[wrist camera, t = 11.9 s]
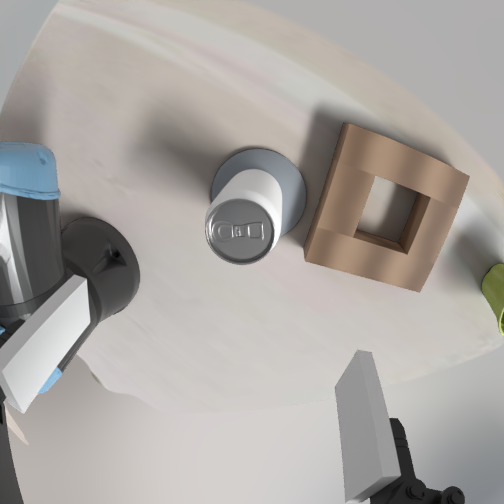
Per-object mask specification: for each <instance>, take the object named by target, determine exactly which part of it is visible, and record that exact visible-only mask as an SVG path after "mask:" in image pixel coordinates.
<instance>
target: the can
mask: <svg viewBox="0 0 504 504" xmlns="http://www.w3.org/2000/svg"><path fill="white" fill-rule="evenodd" d="M281 222H282V192H281V188H280V186H279V184H278V182H277V181H276V179H275V178H274V177H273V176H272V175H270V174H269V173H267V172H265V171H262V170H258V169H248V170H244V171H242V172H240V173H238V174H237V175H235V176H234V177H233V178H232V179H231V180H230V181H229V183H228V184H227V185H226V186H225V187H224V188H223V190H222V191H221V192H220V193H219V194H218V196H217V197H216V198H215V199H214V201H213V202H212V204H211V205H210V207H209V209H208V211H207V214H206V219H205V233H206V239H207V242H208V244H209V246H210V248H211V249H212V250H213V252H214V253H215V254H216V255H217V256H219V257H220V258H221V259H223V260H225V261H227V262H229V263H232V264H237V265H247V264H252V263H255V262H257V261H259V260H261V259H262V258H264V257H265V256H266V255H267V254H268V253H269V252H270V251H271V250H272V249H273V247H274V246H275V245H276V243H277V241H278V239H279V236H280V232H281Z"/></svg>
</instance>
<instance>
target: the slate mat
mask: <svg viewBox="0 0 504 504" xmlns="http://www.w3.org/2000/svg"><path fill="white" fill-rule="evenodd" d="M248 169H258V170H262V171H265V172H267V173H269V174H270V175H272V176H273V177H274V178H275V179H276V181H277V182H278V184H279V186H280V188H281V192H282V222H281V232H280V236H282V235H284V234H286V233H287V232H288V231H290V230H291V229H292V228H293V227H294V226H295V225H296V224H297V222H298V221H299V220H300V218H301V216H302V214H303V211H304V208H305V204H306V189H305V184H304V181H303V178H302V176H301V174H300V172H299V171H298V169H297V168H296V167H295V165H294V164H293V163H292V162H291V161H290V160H288V159H287V158H286V157H284V156H283V155H281V154H279V153H277V152H274V151H271V150H266V149H251V150H246V151H243V152H240V153H238V154H236V155H234V156H233V157H231V158H230V159H228V160H227V161H226V162H225V163H224V164H223V165H222V166H221V167H220V169H219V170H218V172H217V174H216V176H215V178H214V181H213V184H212V190H211V198H212V202H213V201H214V199H215V198H216V197H217V196H218V194H219V193H220V192H221V191H222V190H223V188H224V187H225V186H226V185H227V184H228V183H229V181H230V180H231V179H232V178H233V177H234V176H235V175H237V174H238V173H240V172H242V171H244V170H248ZM280 236H279V237H280Z"/></svg>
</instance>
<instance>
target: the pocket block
mask: <svg viewBox="0 0 504 504" xmlns="http://www.w3.org/2000/svg"><path fill="white" fill-rule="evenodd" d="M375 175H376V176H379V177H382V178H384V179H387V180H389V181H392V182H395V183H397V184H400V185H402V186H405V187H407V188H410V189H412V190H415V191H417V192H418V195H417V198H416V200H415V203H414V206H413V208H412V211H411V213H410V216H409V218H408V221H407V223H406V226H405V228H404V231H403V233H402V236H401V238H400V240H399V243H396V242H393V241H390V240H387V239H384V238H381V237H378V236H375V235H372V234H369V233H365V232H362V231H359V230H356V228H357V226H358V223H359V220H360V218H361V215H362V212H363V209H364V207H365V204H366V201H367V198H368V195H369V193H370V190H371V187H372V184H373V181H374V178H375ZM469 177H470V176H468V175H466V174H464V173H462V172H461V171H459V170H457V169H455V168H453V167H451V166H449V165H447V164H445V163H443V162H441V161H439V160H437V159H435V158H433V157H431V156H428V155H426V154H424V153H422V152H420V151H417V150H415V149H413V148H411V147H408V146H406V145H404V144H402V143H399V142H397V141H394V140H392V139H389V138H387V137H385V136H382V135H379V134H377V133H374V132H372V131H369V130H366V129H364V128H361V127H358V126H355V125H353V124H350V123H343V126H342V129H341V133H340V136H339V140H338V143H337V146H336V150H335V153H334V156H333V159H332V163H331V166H330V169H329V172H328V176H327V179H326V182H325V185H324V188H323V191H322V194H321V198H320V201H319V204H318V207H317V210H316V213H315V216H314V219H313V222H312V225H311V228H310V231H309V234H308V237H307V240H306V243H305V245H304V248H303V250H304V258H305V261H306V262H310V263H313V264H317V265H321V266H324V267H328V268H332V269H335V270H339V271H343V272H347V273H350V274H354V275H358V276H361V277H365V278H369V279H372V280H376V281H380V282H383V283H387V284H390V285H394V286H398V287H401V288H405V289H409V290H412V291H416V292H420V291H421V289H422V287H423V285H424V283H425V282H426V280H427V278H428V276H429V274H430V272H431V270H432V267H433V265H434V263H435V261H436V259H437V257H438V255H439V253H440V251H441V248H442V246H443V244H444V242H445V239H446V237H447V235H448V232H449V230H450V228H451V225H452V223H453V220H454V218H455V215H456V213H457V210H458V208H459V205H460V203H461V200H462V197H463V194H464V192H465V189H466V186H467V183H468V180H469Z"/></svg>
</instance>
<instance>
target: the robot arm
mask: <svg viewBox="0 0 504 504" xmlns="http://www.w3.org/2000/svg"><path fill="white" fill-rule="evenodd" d="M59 197H60V190H59V188H58V181H57V169H56V159H55V156H54V154H53V152H52V151H51V150H50V149H49V148H47V147H46V146H44V145H41V144H36V143H27V142H0V504H24V503H23V500H22V496H21V493H20V489H19V485H18V481H17V477H16V473H15V468H14V464H13V460H12V454H11V449H10V444H9V437H8V431H7V423H6V414H5V406H4V403H3V401H4V400H5V398H7V400H8V401H9V403H10V405H11V406H12V407H14V408H15V409H17V410H19V411H20V412H22V413H24V412H25V411H26V409H27V408H28V406H29V405H30V403H31V402H32V401H33V399H34V398H35V396H36V395H37V394H41V393H44V392H46V391H48V390H49V389H50V387H51V386H52V385H53V384H54V383H55V382H56V380H57V379H58V378H60V377H61V376H62V373H63V371H64V370H65V368H66V367H67V365H68V364H69V363H70V361H71V360H72V358H73V357H74V355H75V354H76V353H77V351H78V350H79V348H80V347H81V346H82V344H83V343H84V342H85V340H86V339H87V338H88V336H89V335H90V334H91V332H92V331H93V330H94V328H95V327H96V326H97V324H98V323H99V322H101V321H103V320H104V319H106V318H108V317H109V316H111V315H113V314H116V313H118V312H120V311H122V310H123V309H124V308H125V307H127V306H128V304H129V303H130V302H131V300H132V299H133V298H134V296H135V295H136V293H137V291H138V288H139V283H140V271H139V265H138V262H137V259H136V256H135V254H134V252H133V250H132V248H131V246H130V245H129V243H128V242H127V241H126V239H125V238H124V237H123V236H122V235H121V234H120V233H119V232H118V231H117V230H116V229H115V228H113V227H112V226H111V225H109V224H107V223H105V222H103V221H101V220H98V219H94V218H81V219H77V220H75V221H73V222H71V223H70V224H68V225H67V226H65V227H64V228H63V229H62V230H61V225H60V214H59ZM335 393H336V400H337V410H338V419H339V427H340V438H341V449H342V459H343V460H342V461H343V473H344V488H345V502H346V503H354V502H355V503H356V502H363V501H365V500H366V499H368V498H370V504H464V503H465V499H464V498H465V497H464V495H463V492H462V491H461V490H460V489H459V488H457V487H454V486H451V487H448V488H446V489H445V490H443V491H438V490H433V489H428V488H426V486H425V484H424V483H423V482H422V481H421V480H418V479H416V477H415V473H414V469H413V464H412V459H411V455H410V451H409V448H408V442H407V440H406V434H405V430H404V427H403V426H402V424H401V423H400V421H399V420H398V418H389V416H388V412H387V408H386V404H385V400H384V397H383V392H382V388H381V385H380V381H379V377H378V374H377V370H376V366H375V363H374V359H373V356H372V352H367V351H361V350H357V352H356V353H355V355H354V357H353V358H352V360H351V362H350V363H349V365H348V367H347V368H346V370H345V372H344V373H343V375H342V376H341V378H340V380H339V381H338V383H337V384H336V386H335Z"/></svg>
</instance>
